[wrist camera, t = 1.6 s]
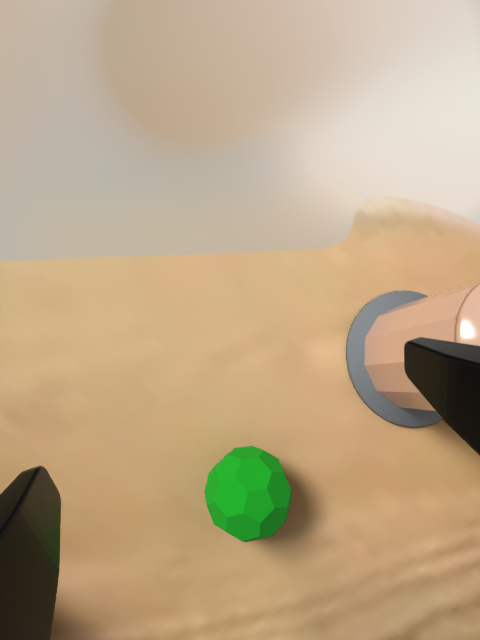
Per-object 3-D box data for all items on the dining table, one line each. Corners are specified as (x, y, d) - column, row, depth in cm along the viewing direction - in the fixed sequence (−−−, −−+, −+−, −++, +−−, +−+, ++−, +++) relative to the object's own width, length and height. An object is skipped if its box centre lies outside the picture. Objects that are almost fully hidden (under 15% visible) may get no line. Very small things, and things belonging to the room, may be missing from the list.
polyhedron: (204, 529, 23) (214, 565, 19) (198, 447, 24) (207, 462, 19) (281, 515, 24) (309, 546, 20) (273, 437, 25) (298, 449, 20)
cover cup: (470, 381, 28) (607, 380, 20) (393, 426, 26) (506, 447, 18) (426, 292, 29) (540, 253, 20) (347, 330, 27) (435, 306, 18)
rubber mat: (488, 389, 29) (491, 389, 29) (384, 451, 26) (387, 452, 26) (429, 272, 29) (432, 271, 29) (323, 322, 27) (324, 321, 27)
